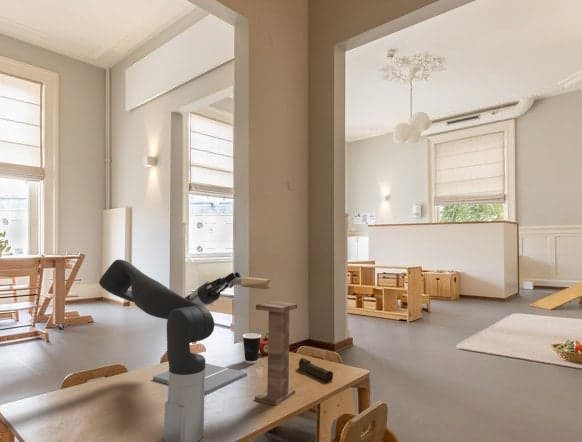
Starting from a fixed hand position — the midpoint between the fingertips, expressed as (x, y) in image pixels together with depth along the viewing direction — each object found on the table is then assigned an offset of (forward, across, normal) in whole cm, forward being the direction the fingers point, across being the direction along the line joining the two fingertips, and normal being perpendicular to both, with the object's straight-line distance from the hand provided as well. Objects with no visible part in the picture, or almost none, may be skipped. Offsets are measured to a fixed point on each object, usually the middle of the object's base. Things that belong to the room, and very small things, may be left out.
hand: (236, 274), depth 141 cm
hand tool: (-4, +26, +43) cm, 50 cm away
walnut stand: (-4, 0, +42) cm, 43 cm away
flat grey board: (-33, 0, +26) cm, 42 cm away
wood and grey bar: (+2, 0, +5) cm, 6 cm away
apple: (-31, +39, +27) cm, 57 cm away
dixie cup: (-30, +26, +28) cm, 48 cm away
